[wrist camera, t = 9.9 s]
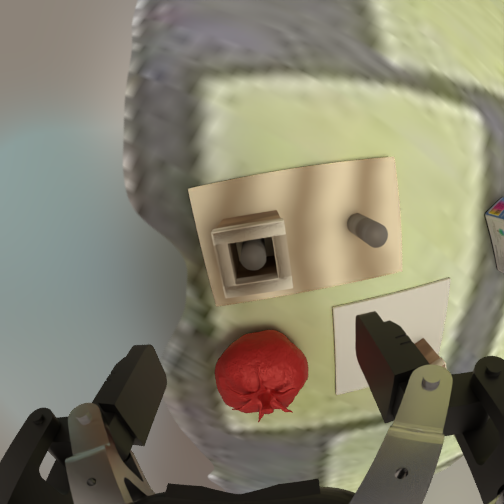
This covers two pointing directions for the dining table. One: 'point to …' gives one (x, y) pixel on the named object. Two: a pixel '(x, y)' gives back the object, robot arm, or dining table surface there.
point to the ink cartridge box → (497, 231)
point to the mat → (388, 308)
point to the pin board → (310, 223)
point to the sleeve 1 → (231, 269)
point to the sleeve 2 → (429, 353)
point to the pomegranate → (261, 373)
